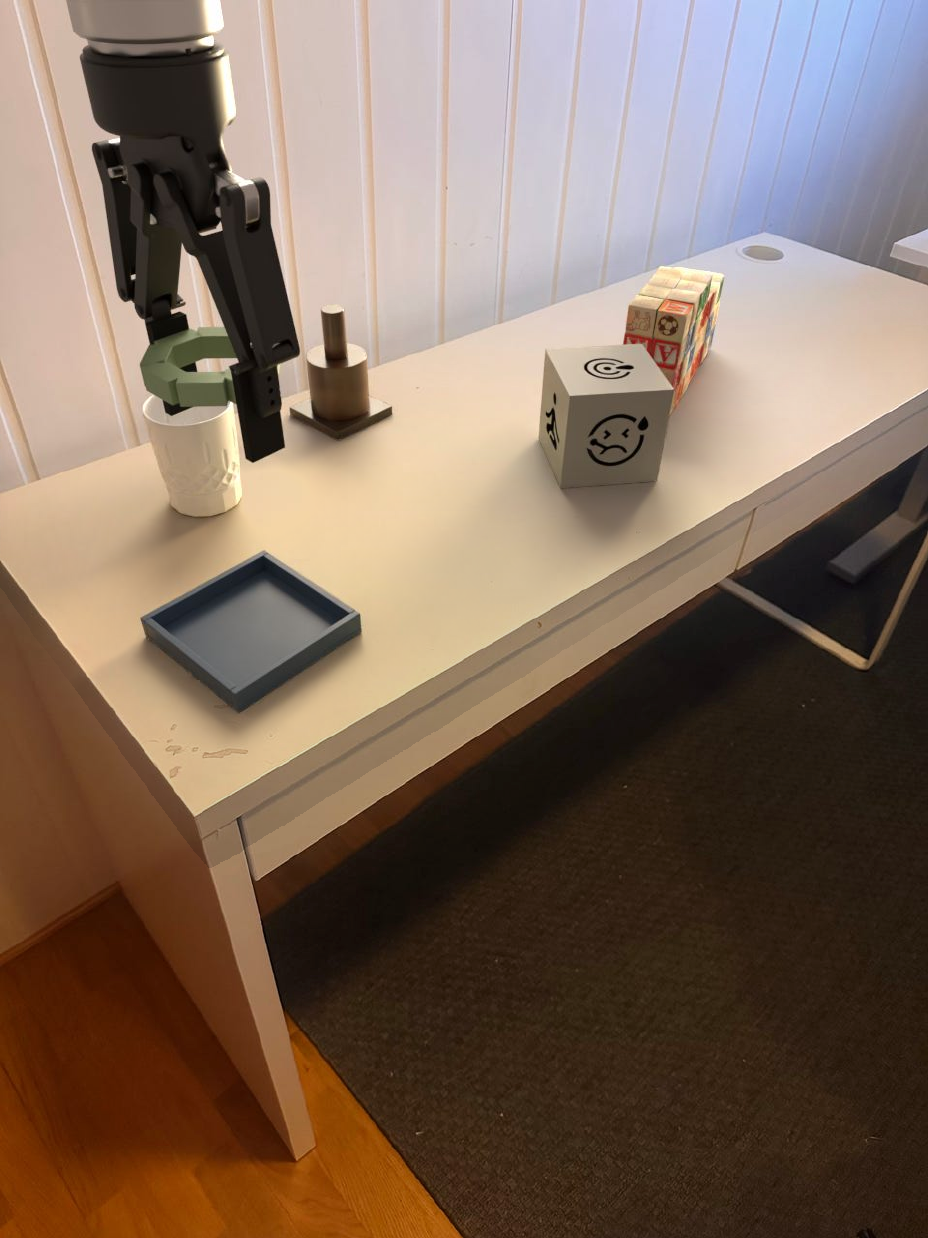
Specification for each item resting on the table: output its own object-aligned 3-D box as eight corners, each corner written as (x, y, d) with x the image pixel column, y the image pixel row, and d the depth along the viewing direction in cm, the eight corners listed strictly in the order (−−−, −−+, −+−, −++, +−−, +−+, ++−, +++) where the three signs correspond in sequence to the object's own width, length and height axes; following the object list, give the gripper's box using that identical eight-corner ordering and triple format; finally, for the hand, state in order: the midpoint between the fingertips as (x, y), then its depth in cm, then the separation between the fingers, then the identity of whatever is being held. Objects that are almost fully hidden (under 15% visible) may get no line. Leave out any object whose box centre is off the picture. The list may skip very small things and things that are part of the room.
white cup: (162, 482, 88) (139, 389, 82) (243, 470, 90) (227, 378, 83) (167, 527, 83) (143, 431, 76) (253, 513, 84) (237, 418, 78)
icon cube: (628, 431, 97) (641, 343, 91) (657, 480, 90) (674, 389, 83) (538, 437, 96) (545, 348, 89) (560, 488, 88) (569, 395, 82)
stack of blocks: (663, 338, 115) (680, 239, 107) (711, 347, 113) (732, 248, 105) (613, 410, 101) (628, 302, 93) (667, 422, 99) (687, 313, 91)
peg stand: (290, 415, 99) (276, 308, 91) (344, 390, 103) (335, 287, 95) (338, 440, 95) (328, 331, 87) (392, 414, 99) (388, 308, 91)
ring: (122, 377, 58) (116, 354, 57) (227, 337, 63) (223, 315, 62) (199, 420, 54) (194, 396, 53) (305, 375, 59) (302, 352, 58)
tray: (145, 636, 71) (139, 617, 70) (267, 568, 78) (263, 549, 77) (239, 713, 65) (234, 694, 64) (362, 632, 72) (360, 613, 71)
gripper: (344, 59, 43) (370, 464, 58) (105, 10, 54) (179, 364, 69) (216, 81, 39) (279, 512, 54) (-16, 23, 50) (91, 397, 64)
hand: (223, 429), depth 61 cm, fingers closed on ring, 8 cm apart
